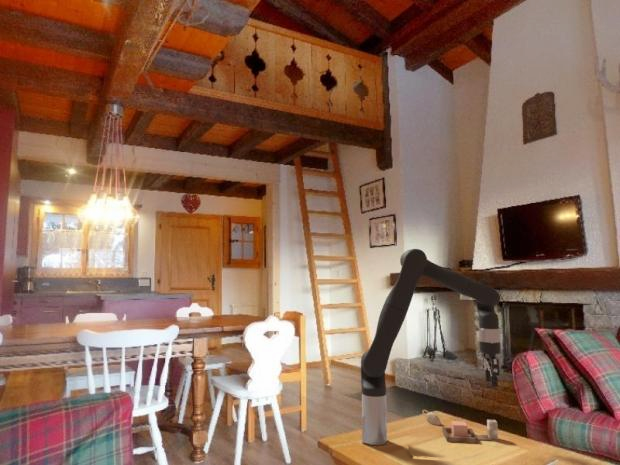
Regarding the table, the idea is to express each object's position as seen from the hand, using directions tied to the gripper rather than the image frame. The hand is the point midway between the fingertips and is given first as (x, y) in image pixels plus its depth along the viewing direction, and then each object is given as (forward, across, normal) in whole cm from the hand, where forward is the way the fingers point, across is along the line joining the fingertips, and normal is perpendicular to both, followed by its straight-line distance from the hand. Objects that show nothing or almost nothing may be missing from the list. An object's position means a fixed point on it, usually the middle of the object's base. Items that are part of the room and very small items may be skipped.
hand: (491, 384), depth 164 cm
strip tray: (+21, -1, -8) cm, 22 cm away
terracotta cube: (+20, -1, -12) cm, 24 cm away
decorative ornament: (+22, -17, -20) cm, 34 cm away
